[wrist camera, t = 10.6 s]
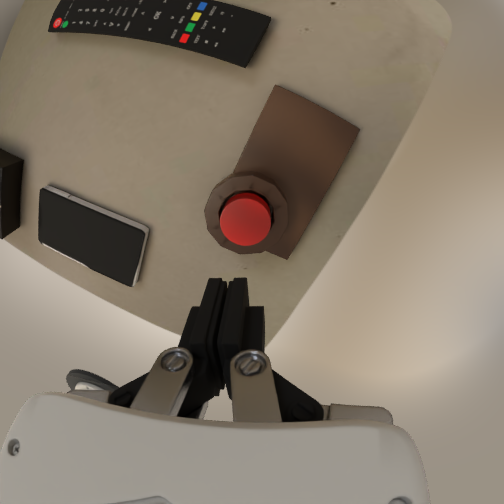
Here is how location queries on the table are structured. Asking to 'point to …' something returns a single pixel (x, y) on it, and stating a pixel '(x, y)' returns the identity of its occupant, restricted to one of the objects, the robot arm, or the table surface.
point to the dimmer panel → (10, 192)
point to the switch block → (284, 169)
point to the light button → (245, 219)
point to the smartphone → (91, 235)
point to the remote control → (169, 24)
